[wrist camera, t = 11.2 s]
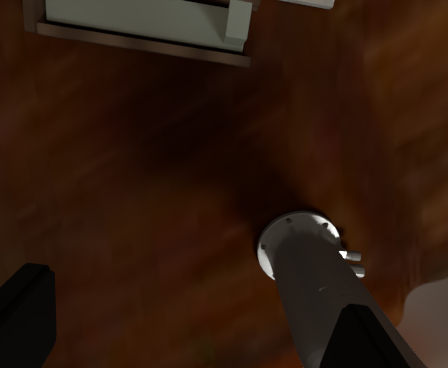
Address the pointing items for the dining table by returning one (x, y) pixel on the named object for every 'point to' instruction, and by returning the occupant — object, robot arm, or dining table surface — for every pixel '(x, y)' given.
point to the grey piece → (314, 3)
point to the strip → (160, 20)
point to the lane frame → (40, 25)
